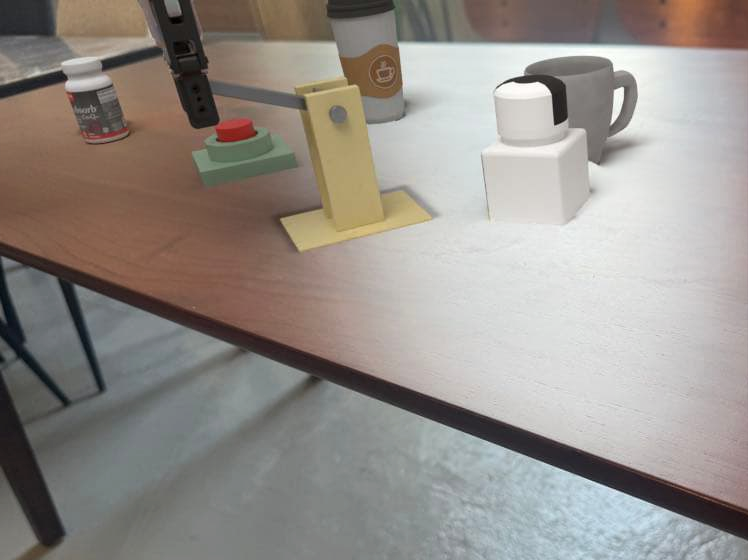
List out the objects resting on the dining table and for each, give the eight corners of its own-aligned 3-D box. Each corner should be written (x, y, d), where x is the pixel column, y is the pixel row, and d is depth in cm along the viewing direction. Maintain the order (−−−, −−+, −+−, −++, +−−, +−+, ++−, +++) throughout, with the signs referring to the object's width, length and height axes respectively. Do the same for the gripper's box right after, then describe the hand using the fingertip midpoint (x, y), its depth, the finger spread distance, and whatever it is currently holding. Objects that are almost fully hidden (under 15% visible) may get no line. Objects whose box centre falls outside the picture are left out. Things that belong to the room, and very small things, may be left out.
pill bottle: (75, 144, 114) (45, 66, 109) (106, 131, 118) (78, 55, 113) (109, 144, 112) (80, 65, 107) (139, 131, 117) (112, 54, 111)
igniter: (206, 192, 92) (194, 155, 90) (196, 170, 99) (186, 135, 97) (298, 172, 95) (289, 135, 93) (283, 152, 102) (274, 118, 100)
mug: (555, 183, 85) (547, 81, 79) (518, 161, 91) (508, 66, 86) (659, 157, 88) (658, 58, 83) (616, 138, 95) (613, 45, 90)
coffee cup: (366, 131, 107) (340, -1, 98) (338, 119, 113) (311, -6, 104) (424, 115, 111) (404, -13, 102) (394, 105, 116) (372, -17, 108)
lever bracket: (302, 263, 73) (262, 110, 66) (282, 230, 80) (244, 89, 73) (434, 230, 77) (410, 82, 70) (404, 201, 84) (379, 64, 77)
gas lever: (183, 103, 66) (185, 70, 65) (177, 91, 70) (179, 60, 69) (352, 131, 72) (356, 102, 71) (337, 119, 76) (341, 90, 75)
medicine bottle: (520, 202, 81) (506, 69, 75) (591, 205, 79) (583, 68, 72) (489, 231, 76) (471, 91, 69) (565, 236, 73) (554, 91, 67)
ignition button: (221, 147, 93) (217, 131, 92) (217, 138, 96) (212, 123, 95) (259, 139, 94) (254, 123, 93) (253, 131, 97) (248, 116, 96)
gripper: (69, -123, 64) (147, 110, 73) (67, -125, 53) (160, 149, 62) (173, -134, 66) (236, 93, 76) (192, -138, 55) (264, 128, 65)
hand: (201, 117), depth 69 cm, fingers closed on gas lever, 5 cm apart
